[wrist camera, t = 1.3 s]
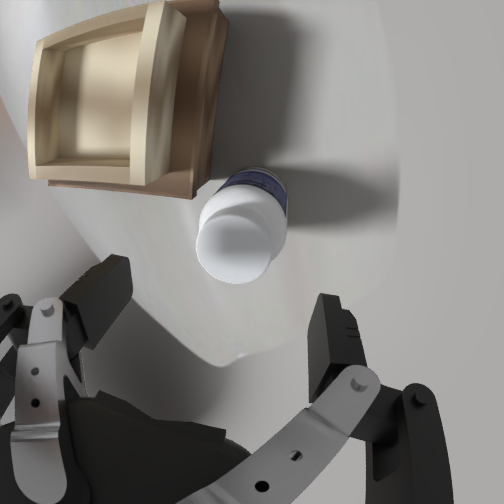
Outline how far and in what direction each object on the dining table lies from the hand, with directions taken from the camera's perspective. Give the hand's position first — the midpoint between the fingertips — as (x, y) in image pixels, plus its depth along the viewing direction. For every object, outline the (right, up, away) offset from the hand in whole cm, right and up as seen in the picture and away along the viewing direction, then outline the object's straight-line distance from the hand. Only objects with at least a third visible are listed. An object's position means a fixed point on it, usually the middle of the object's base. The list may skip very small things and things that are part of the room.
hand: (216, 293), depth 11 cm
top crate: (-9, +13, +4) cm, 16 cm away
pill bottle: (+2, +6, +12) cm, 13 cm away
